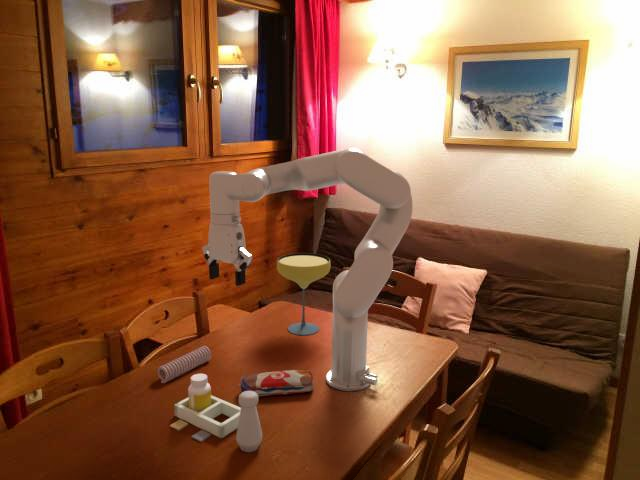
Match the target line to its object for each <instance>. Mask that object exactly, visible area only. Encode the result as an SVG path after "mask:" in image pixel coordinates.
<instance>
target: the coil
mask: <svg viewBox="0 0 640 480" xmlns="http://www.w3.org/2000/svg"><path fill="white" fill-rule="evenodd" d="M211 358H212V353H211V350H210V349H209V347H208V346H206V345H203V346H201V347H198V348H197V349H194V350H192V351H190V352H188V353H186V354H184V355H181V356H180V357H178V358H175V359H173V360H171V361H168V362H167V363H165V364H163V365H161V366H159V367H158V368H157V375H158V377H159V378H160V383H161V384H166V383H167V382H170V381H172V380H174V379H176V378H178V377H179V376H182V375H183V374H186V373H187V372H189V371H191V370H194V369H195V368H197V367H199V366H202V365H203V364H204V363H207V362H208V361H210V360H211Z"/></svg>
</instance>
